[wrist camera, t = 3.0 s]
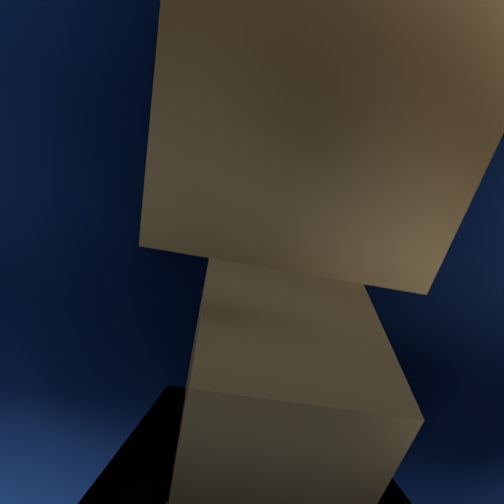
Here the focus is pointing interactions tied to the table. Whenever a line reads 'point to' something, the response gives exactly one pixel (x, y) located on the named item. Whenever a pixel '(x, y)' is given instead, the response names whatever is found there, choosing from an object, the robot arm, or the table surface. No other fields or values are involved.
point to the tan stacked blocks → (311, 223)
